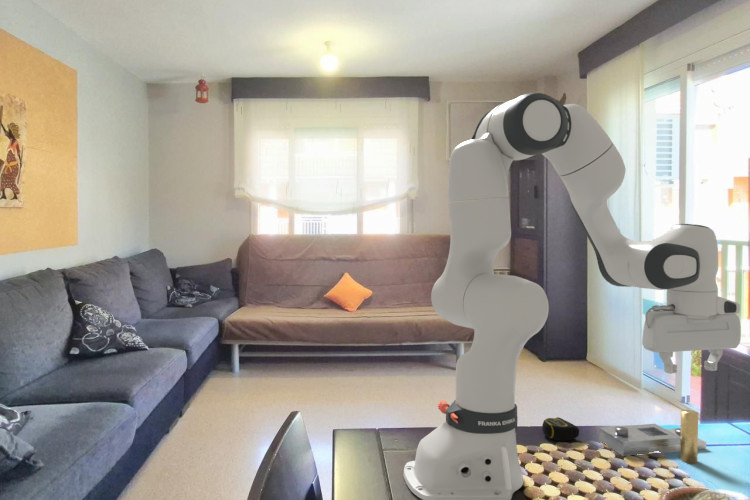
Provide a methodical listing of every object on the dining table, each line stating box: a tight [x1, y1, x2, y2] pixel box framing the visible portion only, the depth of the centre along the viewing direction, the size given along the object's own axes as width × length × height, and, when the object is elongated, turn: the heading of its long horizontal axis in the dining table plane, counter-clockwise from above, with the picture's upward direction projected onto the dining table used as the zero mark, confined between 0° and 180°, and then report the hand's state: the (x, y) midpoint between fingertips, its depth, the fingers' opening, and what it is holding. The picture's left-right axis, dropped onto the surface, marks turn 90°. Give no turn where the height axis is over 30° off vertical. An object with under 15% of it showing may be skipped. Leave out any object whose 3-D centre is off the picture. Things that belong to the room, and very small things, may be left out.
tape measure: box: [541, 416, 580, 442], centre depth 115 cm, size 7×7×4 cm
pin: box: [679, 409, 699, 465], centre depth 103 cm, size 3×3×10 cm
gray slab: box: [599, 423, 707, 457], centre depth 110 cm, size 20×8×4 cm, turn 101°
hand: (690, 371), depth 103 cm, fingers open, 8 cm apart
